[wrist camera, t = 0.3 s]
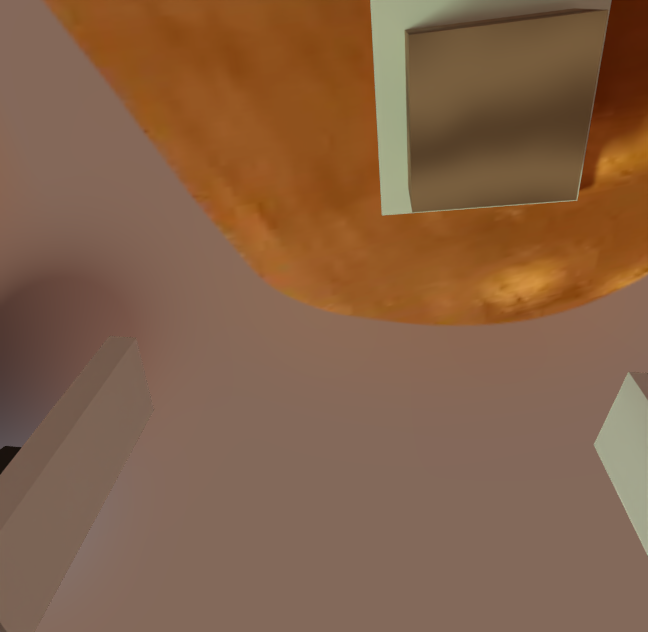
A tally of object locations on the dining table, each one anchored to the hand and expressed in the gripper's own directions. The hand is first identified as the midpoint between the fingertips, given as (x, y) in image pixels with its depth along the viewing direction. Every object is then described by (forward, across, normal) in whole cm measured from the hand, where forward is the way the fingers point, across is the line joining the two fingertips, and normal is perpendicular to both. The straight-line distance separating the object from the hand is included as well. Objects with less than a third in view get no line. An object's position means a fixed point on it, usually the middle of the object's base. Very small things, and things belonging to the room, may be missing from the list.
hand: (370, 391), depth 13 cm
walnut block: (+25, +7, +3) cm, 26 cm away
